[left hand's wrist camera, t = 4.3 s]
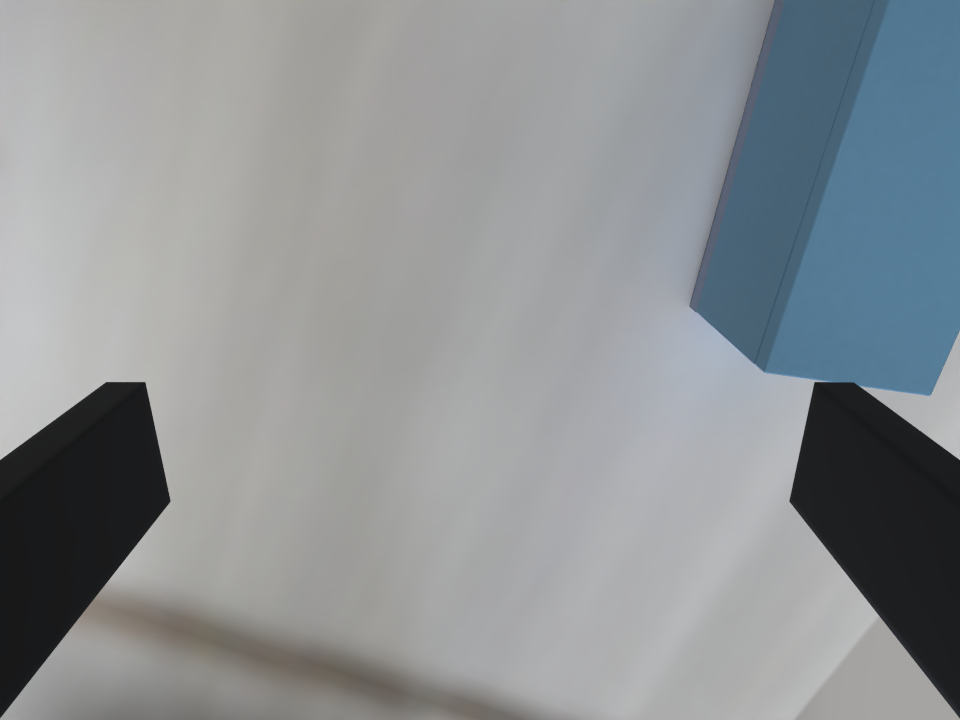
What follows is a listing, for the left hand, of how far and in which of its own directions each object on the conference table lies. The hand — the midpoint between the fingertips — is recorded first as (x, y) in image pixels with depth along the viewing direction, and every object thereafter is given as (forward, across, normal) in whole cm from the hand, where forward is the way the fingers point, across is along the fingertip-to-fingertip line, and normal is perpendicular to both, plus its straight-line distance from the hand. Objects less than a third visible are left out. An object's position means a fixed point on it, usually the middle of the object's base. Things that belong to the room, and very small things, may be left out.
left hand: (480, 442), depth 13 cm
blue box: (+19, -15, -4) cm, 25 cm away
